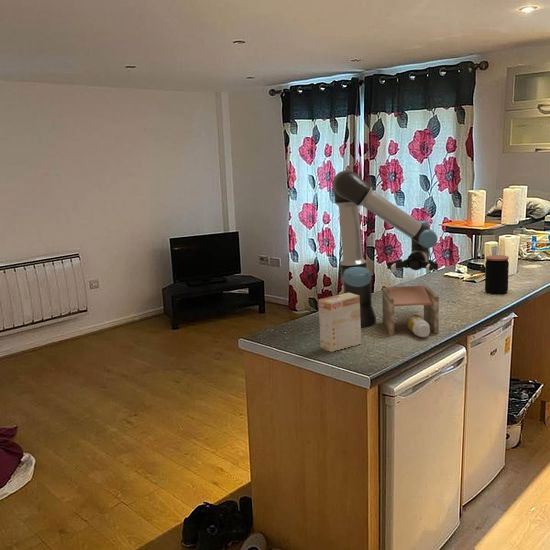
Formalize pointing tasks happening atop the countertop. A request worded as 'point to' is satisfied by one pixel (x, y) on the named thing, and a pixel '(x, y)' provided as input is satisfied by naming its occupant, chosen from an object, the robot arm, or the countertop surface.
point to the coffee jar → (496, 274)
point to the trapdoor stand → (429, 311)
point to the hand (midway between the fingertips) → (409, 270)
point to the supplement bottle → (418, 325)
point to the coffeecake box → (340, 321)
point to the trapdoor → (409, 296)
